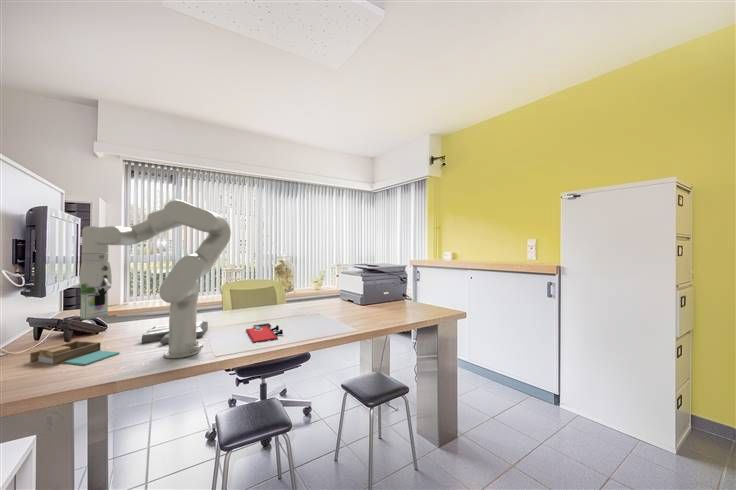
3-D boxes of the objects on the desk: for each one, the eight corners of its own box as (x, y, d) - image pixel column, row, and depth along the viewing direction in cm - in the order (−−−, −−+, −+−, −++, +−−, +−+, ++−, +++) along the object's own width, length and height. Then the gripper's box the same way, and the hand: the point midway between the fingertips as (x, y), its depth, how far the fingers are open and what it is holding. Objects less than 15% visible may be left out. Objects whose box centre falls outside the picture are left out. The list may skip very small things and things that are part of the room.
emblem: (177, 317, 159) (221, 320, 153) (177, 327, 159) (221, 330, 153) (125, 331, 132) (177, 335, 126) (125, 343, 131) (177, 348, 126)
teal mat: (119, 353, 117) (119, 352, 117) (85, 365, 105) (85, 363, 105) (99, 351, 119) (99, 350, 119) (64, 363, 107) (64, 361, 107)
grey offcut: (71, 359, 112) (72, 353, 112) (53, 365, 107) (53, 358, 107) (56, 357, 114) (56, 351, 114) (38, 362, 109) (38, 356, 109)
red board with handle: (272, 324, 166) (244, 328, 158) (272, 319, 165) (244, 323, 158) (285, 339, 140) (252, 345, 132) (285, 333, 140) (252, 338, 132)
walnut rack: (100, 350, 120) (100, 342, 120) (55, 365, 106) (55, 355, 106) (77, 348, 123) (77, 340, 123) (30, 362, 108) (30, 353, 108)
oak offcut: (70, 353, 112) (70, 347, 112) (52, 358, 107) (52, 351, 107) (57, 351, 114) (57, 345, 114) (39, 356, 109) (39, 349, 109)
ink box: (86, 320, 109) (86, 284, 109) (79, 319, 110) (80, 284, 110) (107, 316, 115) (108, 282, 115) (101, 315, 116) (102, 282, 117)
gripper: (122, 258, 115) (122, 304, 115) (88, 257, 118) (88, 302, 118) (102, 258, 108) (101, 307, 107) (66, 258, 111) (65, 305, 110)
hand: (94, 304), depth 113 cm, fingers closed on ink box, 4 cm apart
